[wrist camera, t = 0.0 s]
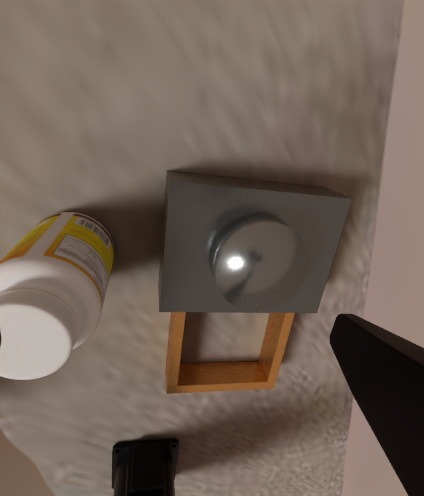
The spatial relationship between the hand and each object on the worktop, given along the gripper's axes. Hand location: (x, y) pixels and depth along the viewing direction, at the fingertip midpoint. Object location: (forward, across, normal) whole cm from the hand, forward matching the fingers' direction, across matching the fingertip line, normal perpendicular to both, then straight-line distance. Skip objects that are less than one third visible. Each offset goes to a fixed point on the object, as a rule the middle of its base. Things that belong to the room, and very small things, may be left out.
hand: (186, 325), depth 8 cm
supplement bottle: (+15, +6, +4) cm, 17 cm away
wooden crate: (+15, -6, +7) cm, 17 cm away
